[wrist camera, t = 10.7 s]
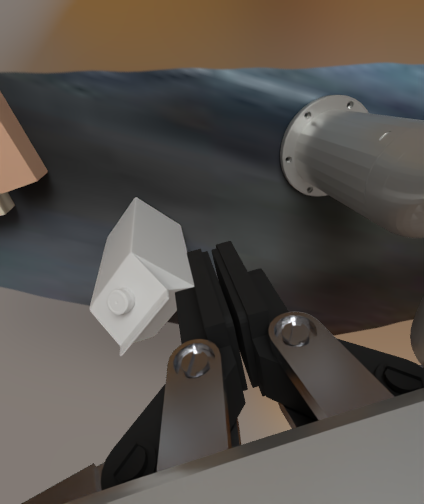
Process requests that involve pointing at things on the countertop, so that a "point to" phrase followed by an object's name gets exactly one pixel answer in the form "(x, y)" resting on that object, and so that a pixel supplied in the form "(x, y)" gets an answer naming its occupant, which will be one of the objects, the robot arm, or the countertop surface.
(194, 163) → the countertop surface
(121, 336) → the milk carton
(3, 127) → the t block
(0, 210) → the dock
